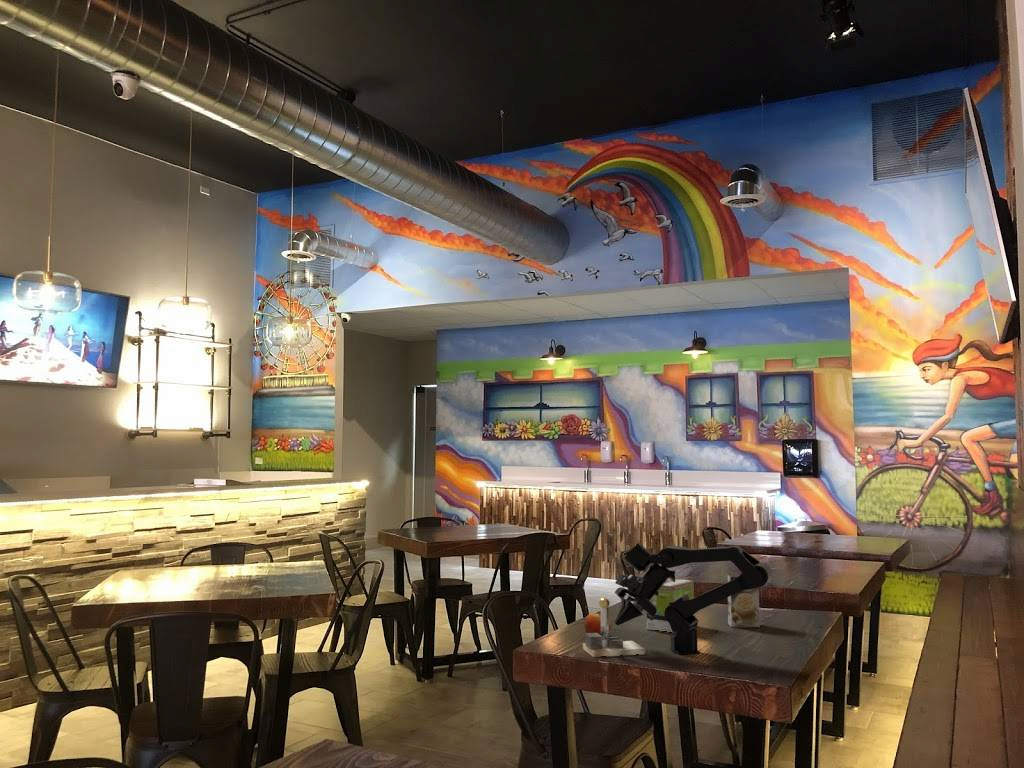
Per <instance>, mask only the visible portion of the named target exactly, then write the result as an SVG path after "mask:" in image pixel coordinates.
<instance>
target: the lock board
mask: <svg viewBox="0 0 1024 768" xmlns="http://www.w3.org/2000/svg"><path fill="white" fill-rule="evenodd" d="M584 635H585V637H584V638H585V643H582V650H584V651H585V652H587V654H589V655H590V656H592V657H593V658H601V656H606V657H620V655H623V656H635V655H636V654H639V655H646V648H645V647H643V646H642V645H640V644H638V643H636V642H635V641H633V640H625V641H624V640H623V639H619V636H609V640H608V647H602V636H601V635H599V634H598V633H586V632H585V633H584Z"/></svg>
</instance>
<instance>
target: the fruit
mask: <svg viewBox="0 0 1024 768" xmlns="http://www.w3.org/2000/svg"><path fill="white" fill-rule="evenodd" d="M608 625H609V632H610V630H611V627H612V626H611V625H612V624H611V621H609V620H608ZM584 630H585V633H598V634H599V635H601V614H599V613H596V612H595V613H589V614H588V615H587V616H586V618H585V620H584Z"/></svg>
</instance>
